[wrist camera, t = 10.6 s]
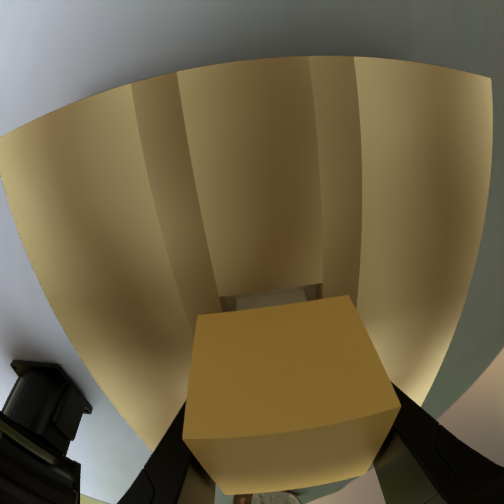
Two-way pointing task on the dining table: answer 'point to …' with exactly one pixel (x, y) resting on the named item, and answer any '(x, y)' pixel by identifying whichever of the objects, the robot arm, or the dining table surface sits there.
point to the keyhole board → (254, 210)
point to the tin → (266, 498)
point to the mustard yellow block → (285, 392)
